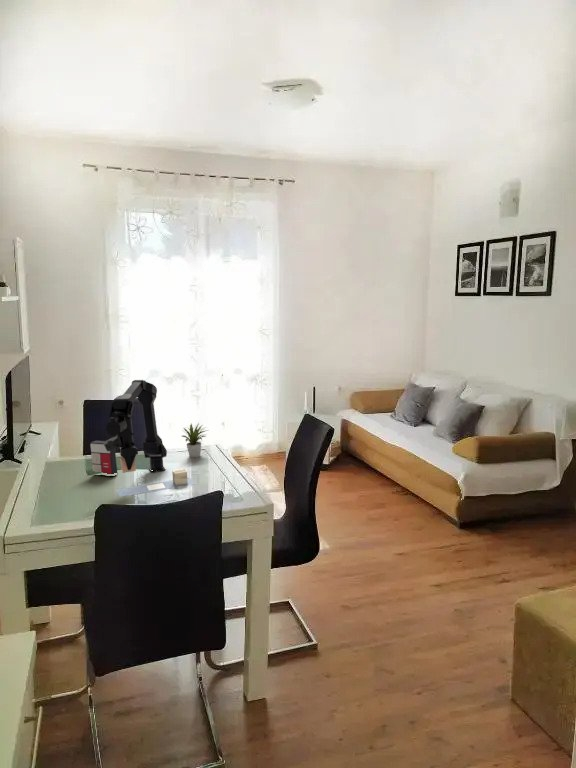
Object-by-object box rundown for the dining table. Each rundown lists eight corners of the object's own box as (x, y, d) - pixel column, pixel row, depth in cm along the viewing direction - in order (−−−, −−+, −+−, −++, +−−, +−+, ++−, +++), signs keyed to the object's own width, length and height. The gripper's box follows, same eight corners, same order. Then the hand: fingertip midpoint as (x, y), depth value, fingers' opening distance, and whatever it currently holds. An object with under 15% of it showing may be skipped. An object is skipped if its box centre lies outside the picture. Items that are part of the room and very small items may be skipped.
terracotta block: (121, 469, 233) (120, 457, 232) (134, 467, 234) (133, 455, 234) (122, 472, 228) (121, 460, 227) (135, 470, 230) (134, 458, 229)
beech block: (173, 482, 241) (172, 470, 241) (185, 480, 243) (184, 468, 243) (175, 485, 237) (174, 473, 236) (187, 483, 239) (186, 471, 238)
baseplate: (116, 491, 236) (116, 489, 235) (189, 479, 247) (189, 477, 247) (119, 498, 226) (119, 496, 226) (195, 486, 237) (195, 484, 237)
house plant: (200, 461, 272) (197, 427, 269) (174, 460, 276) (171, 426, 274) (214, 453, 285) (212, 420, 282) (189, 452, 290) (187, 419, 287)
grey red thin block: (92, 475, 258) (88, 442, 255) (98, 472, 262) (95, 440, 259) (112, 477, 254) (109, 444, 251) (118, 474, 258) (115, 441, 255)
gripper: (101, 427, 234) (104, 465, 237) (105, 437, 217) (109, 477, 220) (129, 424, 238) (133, 461, 241) (136, 433, 221) (139, 473, 224)
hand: (128, 468), depth 231 cm, fingers closed on terracotta block, 5 cm apart
